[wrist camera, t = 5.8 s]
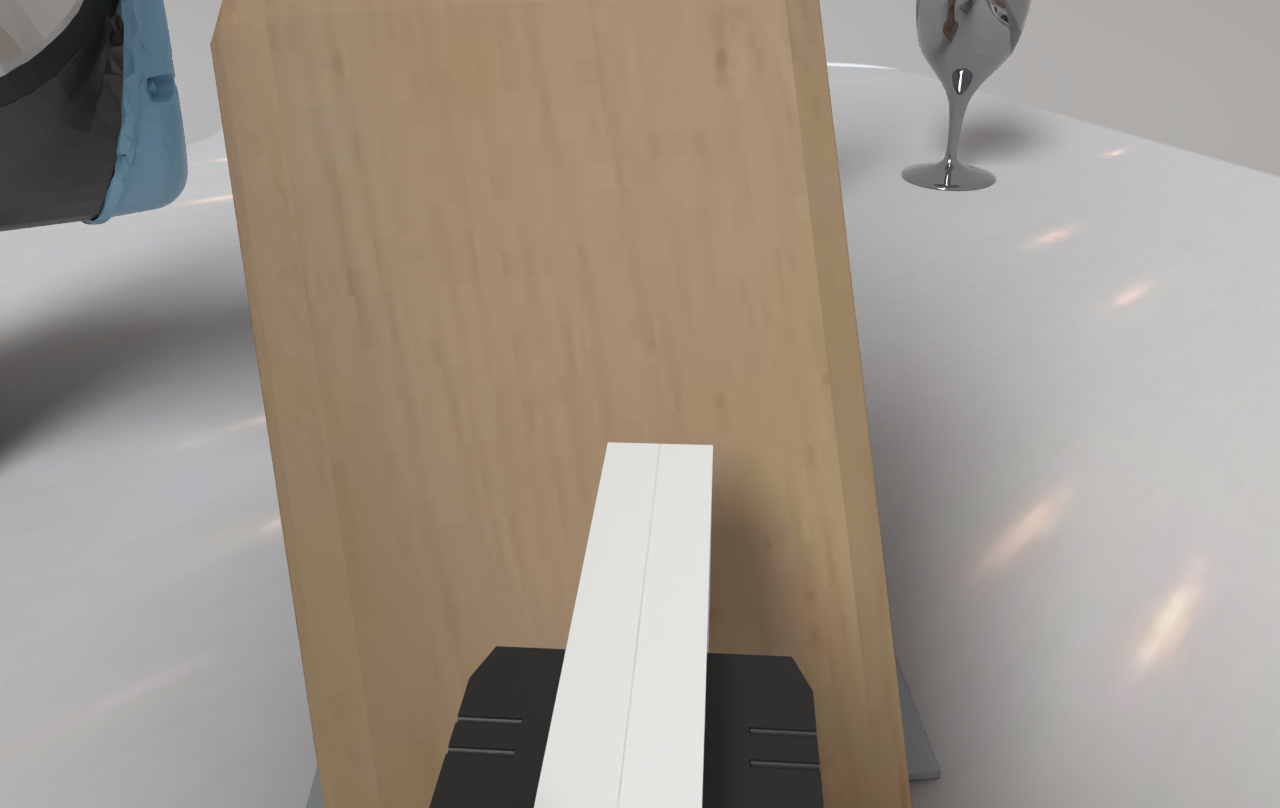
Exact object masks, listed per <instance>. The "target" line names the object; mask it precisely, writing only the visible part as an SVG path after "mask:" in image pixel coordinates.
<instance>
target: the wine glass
mask: <svg viewBox="0 0 1280 808" xmlns="http://www.w3.org/2000/svg"><path fill="white" fill-rule="evenodd" d="M1030 5H1031V0H917V1H916V21H917V22H916V25H917V34H918V41H919V46H920V50H921V52H922V54H923V56H924V58H925V59H926V61H927V62H928V64H929V65H930V67H931V68H932V70H933V71H934V72H935V74H936V75H937V77H938V78H939V80H940V81H941V83H942V85H943V87H944V89H945V91H946V94H947V97H948V101H949V136H948V144H947V150H946V155H945V158H944V159H943V160H942V161H940V162H930V163H921V164H916V165H912V166H909V167H907V168H905V169H904V170H903V171H902V174H901V175H902V177H903V178H904V179H905V180H907V181H908V182H910V183H913V184H915V185H919V186H922V187H927V188H932V189H939V190H952V191H962V190H975V189H981V188H985V187H988V186H990V185H992V184H993V183H995V181H996V178H995V176H994V174H992V173H991V172H989V171H987V170H985V169H982V168H979V167H976V166H972V165H967V164H961V163H959V162H958V160H957V146H958V140H959V134H960V130H961V126H962V122H963V118H964V115H965V111H966V108H967V105H968V103H969V101H970V99H971V97H972V96H973V94H974V93H975V91H976V90H977V89H978V88H979V86H980V85H981V84H982V83H983V82H984V81H985V80H986V79H987V78H988V77H989V76H990V75H991V74H992V73H994V71H996V70H997V69H998V68H999V67H1000V66H1001V65H1002V64H1003V63H1004V62H1005V61H1006V60H1007V58H1008V57H1009V56H1010V55H1011V54H1012V52H1013V51H1014V49H1015V47H1016V45H1017V43H1018V41H1019V38H1020V36H1021V33H1022V31H1023V28H1024V25H1025V22H1026V19H1027V16H1028V13H1029V10H1030Z"/></svg>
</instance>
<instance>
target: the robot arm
mask: <svg viewBox="0 0 1280 808" xmlns="http://www.w3.org/2000/svg"><path fill="white" fill-rule="evenodd" d="M174 78H175V72H174V67H173V60H172V49H171V44H170V38H169V31H168V25H167V19H166V14H165V8H164V2H163V0H0V231H8V230H16V229H23V228H31V227H39V226H47V225H54V224H62V223H70V222H77V221H82V222H84V223H86V224H94V225H95V224H102V223H105V222H106V221H108V220H109V219H110V218H111V217H115V216H120V215H126V214H131V213H136V212H142V211H147V210H153V209H158V208H161V207H164V206H166V205H168V204H170V203H171V202H173V201H174V200H175V199H176V198H177V197H178V196H179V195H180V194H181V192H182V191H183V189H184V187H185V184H186V181H187V174H188V166H187V153H186V144H185V136H184V129H183V121H182V115H181V110H180V102H179V97H178V92H177V87H176V85H175V80H174ZM712 471H713V445H691V444H653V443H615V442H608V444H607V449H606V454H605V459H604V464H603V469H602V474H601V479H600V484H599V488H598V493H597V498H596V503H595V508H594V513H593V518H592V523H591V528H590V533H589V538H588V543H587V548H586V553H585V558H584V562H583V567H582V572H581V577H580V582H579V587H578V592H577V597H576V602H575V607H574V612H573V617H572V622H571V627H570V632H569V636H568V641H567V646H566V649H550V648H527V647H504V646H496V647H495V648H494V649H493V651H492V652H491V653H490V654H489V655H488V656H487V658H486V659H485V660H484V661H483V662H482V663H481V665H480V666H479V667H478V668H477V669H476V670H475V672H474V673H473V674H472V675H471V676H470V677H469V680H468V684H467V687H466V690H465V693H464V696H463V700H462V703H461V706H460V709H459V713H458V720H457V722H455V726H454V729H453V732H452V735H451V738H450V742H449V745H448V753H447V754H446V755H445V758H444V761H443V764H442V767H441V771H440V774H439V777H438V780H437V784H436V787H435V790H434V793H433V797H432V800H431V803H430V806H429V808H824V803H823V792H822V781H821V771H820V760H819V750H818V739H817V728H816V718H815V707H814V696H813V690H812V689H811V687H810V685H809V684H808V682H807V680H806V679H805V677H804V675H803V674H802V672H801V671H800V669H799V667H798V666H797V664H796V662H795V661H794V659H793V657H791V656H768V655H745V654H722V653H708V647H709V612H710V571H711V521H712Z"/></svg>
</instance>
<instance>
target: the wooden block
mask: <svg viewBox="0 0 1280 808" xmlns="http://www.w3.org/2000/svg"><path fill="white" fill-rule="evenodd" d="M210 45H211V52H212V58H213V65H214V72H215V79H216V86H217V92H218V99H219V106H220V112H221V119H222V125H223V133H224V139H225V146H226V153H227V160H228V166H229V173H230V180H231V186H232V193H233V200H234V207H235V213H236V220H237V227H238V233H239V240H240V247H241V254H242V260H243V267H244V274H245V281H246V287H247V294H248V301H249V307H250V314H251V321H252V328H253V334H254V341H255V348H256V354H257V361H258V368H259V375H260V381H261V388H262V395H263V401H264V408H265V415H266V422H267V428H268V435H269V442H270V449H271V455H272V462H273V469H274V475H275V482H276V489H277V496H278V502H279V509H280V516H281V522H282V529H283V536H284V543H285V549H286V556H287V563H288V569H289V576H290V583H291V590H292V596H293V603H294V610H295V617H296V623H297V630H298V637H299V643H300V650H301V657H302V664H303V670H304V677H305V684H306V690H307V697H308V704H309V711H310V717H311V724H312V731H313V738H314V744H315V751H316V758H317V764H318V771H319V778H320V785H321V791H322V798H323V805H324V808H429V806H430V803H431V800H432V797H433V793H434V790H435V787H436V784H437V780H438V777H439V774H440V771H441V767H442V764H443V761H444V758H445V755H446V754H447V753H448V745H449V742H450V738H451V735H452V732H453V729H454V726H455V722H457V720H458V713H459V709H460V706H461V703H462V700H463V696H464V693H465V690H466V687H467V684H468V680H469V677H470V676H471V675H472V674H473V673H474V672H475V670H476V669H477V668H478V667H479V666H480V665H481V663H482V662H483V661H484V660H485V659H486V658H487V656H488V655H489V654H490V653H491V652H492V651H493V649H494V648H495V647H496V646H504V647H527V648H550V649H566V646H567V641H568V636H569V632H570V627H571V622H572V617H573V612H574V607H575V602H576V597H577V592H578V587H579V582H580V577H581V572H582V567H583V562H584V558H585V553H586V548H587V543H588V538H589V533H590V528H591V523H592V518H593V513H594V508H595V503H596V498H597V493H598V488H599V484H600V479H601V474H602V469H603V464H604V459H605V454H606V449H607V444H608V442H615V443H653V444H691V445H713V471H712V521H711V571H710V612H709V647H708V653H722V654H745V655H768V656H791V657H793V659H794V661H795V662H796V664H797V666H798V667H799V669H800V671H801V672H802V674H803V675H804V677H805V679H806V680H807V682H808V684H809V685H810V687H811V689H812V690H813V696H814V707H815V718H816V728H817V739H818V750H819V760H820V771H821V781H822V792H823V803H824V808H912V803H911V794H910V786H909V777H908V768H907V760H906V751H905V742H904V733H903V725H902V716H901V707H900V699H899V690H898V681H897V673H896V664H895V655H894V646H893V638H892V629H891V620H890V612H889V603H888V594H887V586H886V577H885V568H884V559H883V551H882V542H881V533H880V525H879V516H878V507H877V498H876V490H875V481H874V472H873V464H872V455H871V446H870V438H869V429H868V420H867V411H866V403H865V394H864V385H863V377H862V368H861V359H860V351H859V342H858V333H857V324H856V316H855V307H854V298H853V290H852V281H851V272H850V264H849V255H848V246H847V237H846V229H845V220H844V211H843V203H842V194H841V185H840V177H839V168H838V159H837V150H836V142H835V133H834V124H833V116H832V107H831V98H830V90H829V81H828V72H827V63H826V55H825V48H824V47H825V46H824V38H823V29H822V20H821V12H820V3H819V0H223V1H222V5H221V8H220V12H219V15H218V19H217V23H216V27H215V30H214V34H213V37H212V41H211V44H210Z"/></svg>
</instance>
